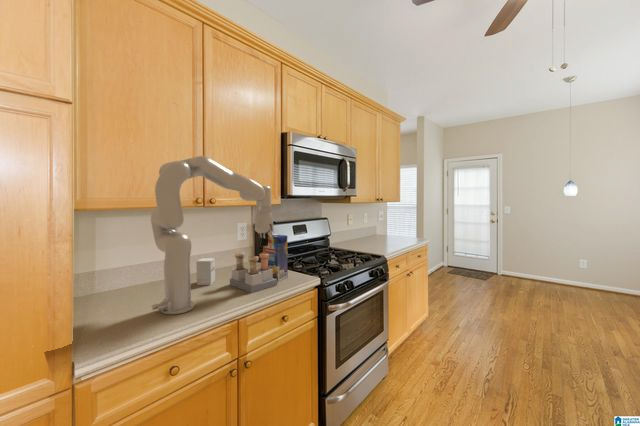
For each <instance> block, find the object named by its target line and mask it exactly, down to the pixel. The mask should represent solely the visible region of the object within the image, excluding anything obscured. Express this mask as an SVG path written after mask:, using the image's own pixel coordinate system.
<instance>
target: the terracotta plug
mask: <svg viewBox="0 0 640 426" xmlns="http://www.w3.org/2000/svg"><path fill="white" fill-rule="evenodd" d="M258 255H259V258H260V269H261V271H266V270H268V257H269V254H268V253H263V252H262V253H259V254H258Z"/></svg>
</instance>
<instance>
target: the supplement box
mask: <svg viewBox="0 0 640 426" xmlns="http://www.w3.org/2000/svg"><path fill="white" fill-rule="evenodd" d="M215 259H216V258H213V257H207V258H205V257H203V258H200V259H198V260H197V261H196V286H212V285H213V283H214V282H215V281H216V268H215V267H216V262H215Z"/></svg>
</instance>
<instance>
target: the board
mask: <svg viewBox="0 0 640 426" xmlns="http://www.w3.org/2000/svg"><path fill="white" fill-rule="evenodd" d="M257 272H258V274H256V275H250V271H249V268H247V267H244V270H240V271H238V270H237V269H236V268H232V269H231V278H229V286H233V287H235V288H237V289H240V290H243V291H244V292H248V293H250V294H252V293H256V292H259V291H263V290H265V289H269V288H272V287H276V286H278V281H277V279H274V278H273V269H269V268H268V270H266V271H261V268H257Z"/></svg>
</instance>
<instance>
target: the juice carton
mask: <svg viewBox="0 0 640 426" xmlns="http://www.w3.org/2000/svg"><path fill="white" fill-rule="evenodd" d="M262 253H268V254H269V257H268V268H269V269H273V278H274V279H277V282H279V281H282V280H283V281H284V280H286V279H288V268H289V267H288V266H289V265H288V235H285V234H277V233H272V235H269V238H268V245H267V246H262Z"/></svg>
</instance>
